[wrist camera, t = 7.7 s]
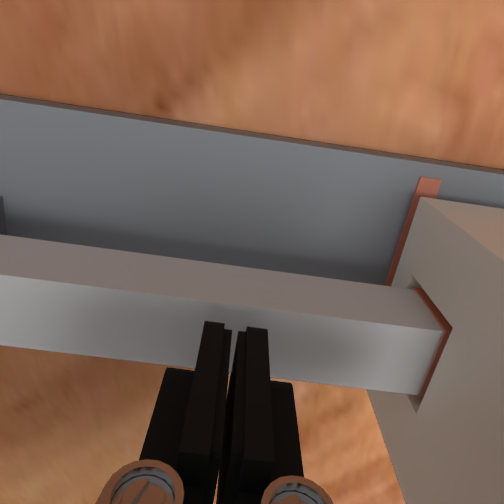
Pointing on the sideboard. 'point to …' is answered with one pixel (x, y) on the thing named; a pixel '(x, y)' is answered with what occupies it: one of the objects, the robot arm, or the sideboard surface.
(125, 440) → the sideboard surface
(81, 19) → the sideboard surface
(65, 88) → the sideboard surface
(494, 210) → the white sliding block
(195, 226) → the gray slide rail base
